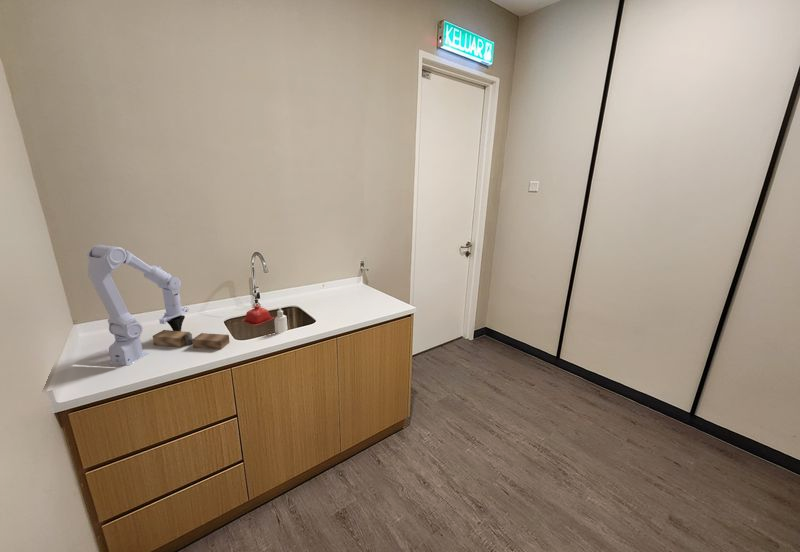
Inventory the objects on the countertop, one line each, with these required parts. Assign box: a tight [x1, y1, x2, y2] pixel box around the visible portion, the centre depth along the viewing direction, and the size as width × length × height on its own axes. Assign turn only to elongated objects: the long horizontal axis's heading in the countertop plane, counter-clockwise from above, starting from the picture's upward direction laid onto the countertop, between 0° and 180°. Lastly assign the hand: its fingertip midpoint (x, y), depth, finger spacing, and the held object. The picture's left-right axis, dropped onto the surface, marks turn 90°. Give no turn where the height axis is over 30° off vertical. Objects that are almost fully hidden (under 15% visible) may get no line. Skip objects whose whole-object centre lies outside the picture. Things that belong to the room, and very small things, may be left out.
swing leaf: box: [152, 329, 193, 348], centre depth 140 cm, size 15×6×4 cm, turn 83°
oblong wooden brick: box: [192, 332, 230, 350], centre depth 139 cm, size 12×6×4 cm, turn 86°
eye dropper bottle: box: [273, 307, 288, 334], centre depth 152 cm, size 4×6×12 cm
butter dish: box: [241, 305, 275, 327], centre depth 165 cm, size 12×12×8 cm
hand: (177, 332), depth 145 cm, fingers closed
